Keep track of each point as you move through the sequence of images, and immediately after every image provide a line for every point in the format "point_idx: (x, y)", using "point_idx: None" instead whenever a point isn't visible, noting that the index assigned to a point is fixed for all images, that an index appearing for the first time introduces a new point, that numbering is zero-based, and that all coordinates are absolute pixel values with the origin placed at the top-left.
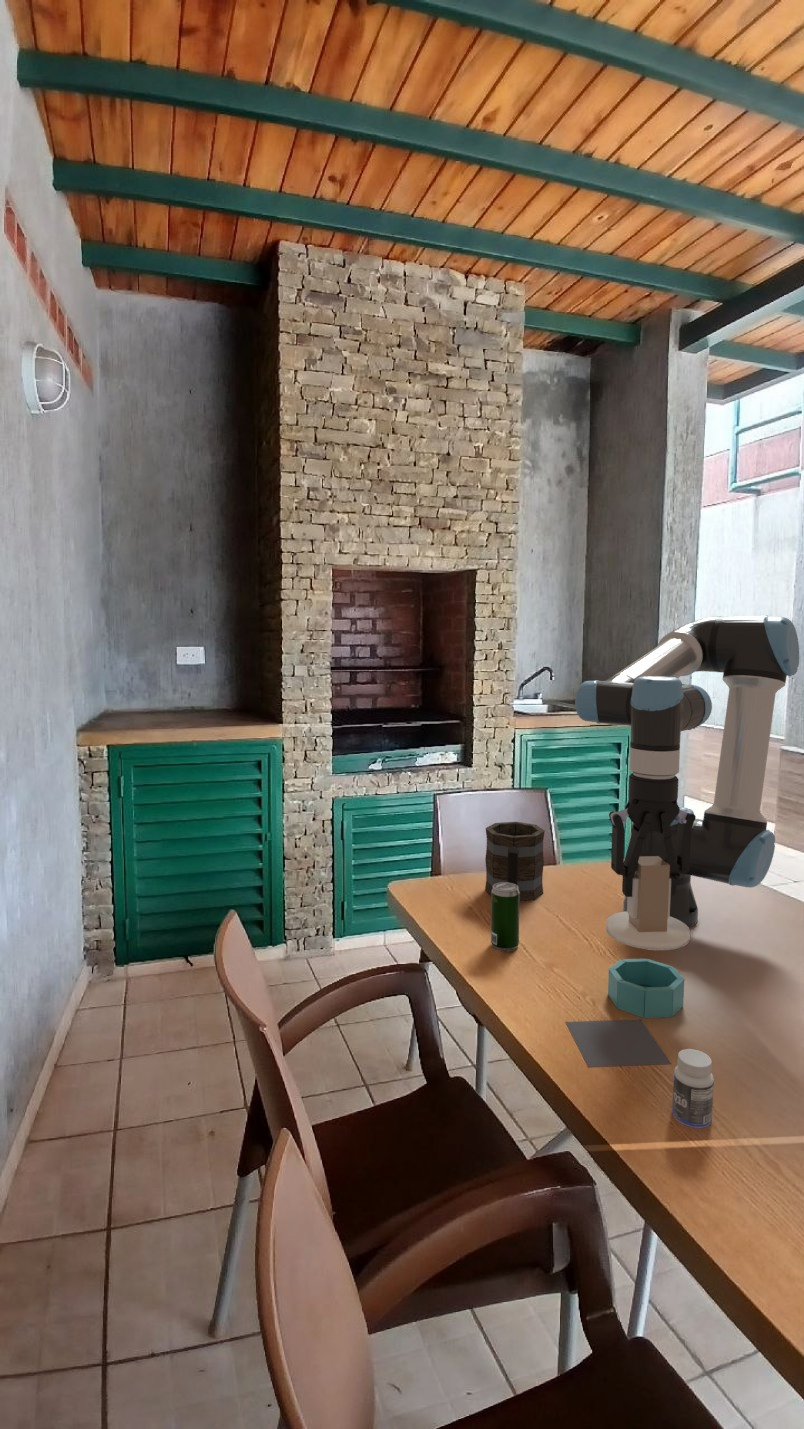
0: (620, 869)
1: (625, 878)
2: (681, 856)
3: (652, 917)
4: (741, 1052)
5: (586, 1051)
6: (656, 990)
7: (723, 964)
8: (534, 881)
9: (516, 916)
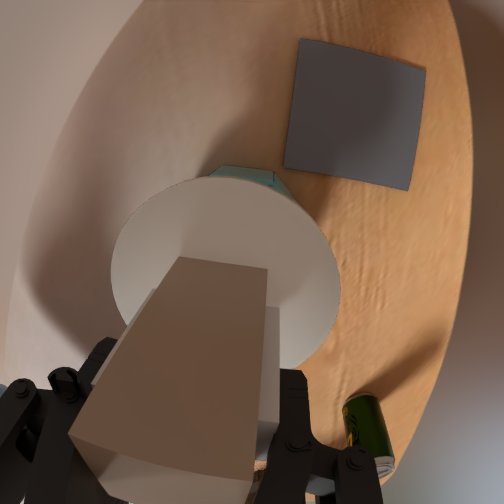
0: (355, 469)
1: (311, 434)
2: (9, 447)
3: (217, 286)
4: (165, 61)
5: (414, 105)
6: (248, 176)
7: (78, 303)
8: (256, 489)
9: (361, 433)
